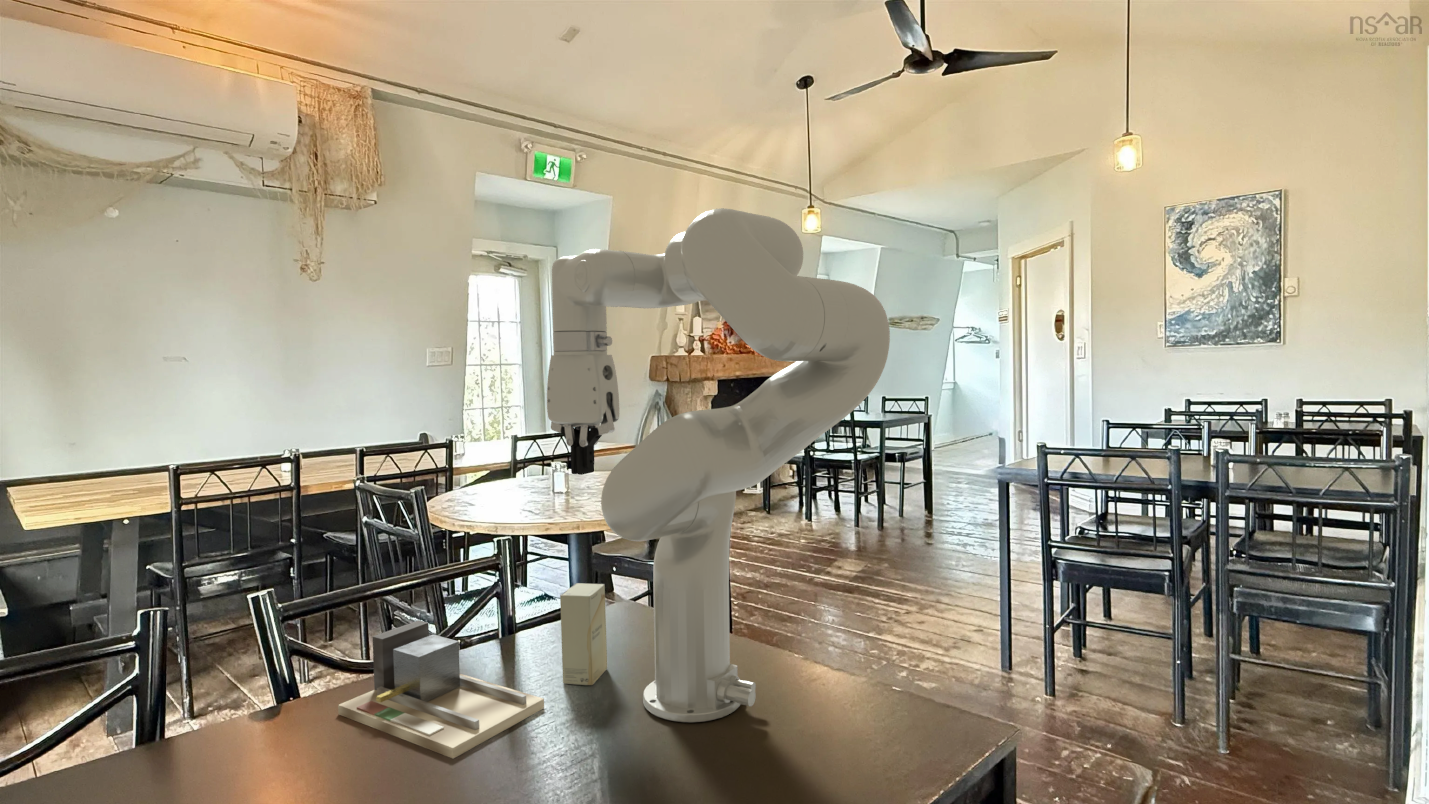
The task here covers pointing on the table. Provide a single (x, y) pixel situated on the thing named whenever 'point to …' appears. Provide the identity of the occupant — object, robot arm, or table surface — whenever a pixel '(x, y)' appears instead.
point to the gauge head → (425, 669)
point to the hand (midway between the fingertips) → (582, 472)
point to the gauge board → (436, 704)
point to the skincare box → (583, 633)
